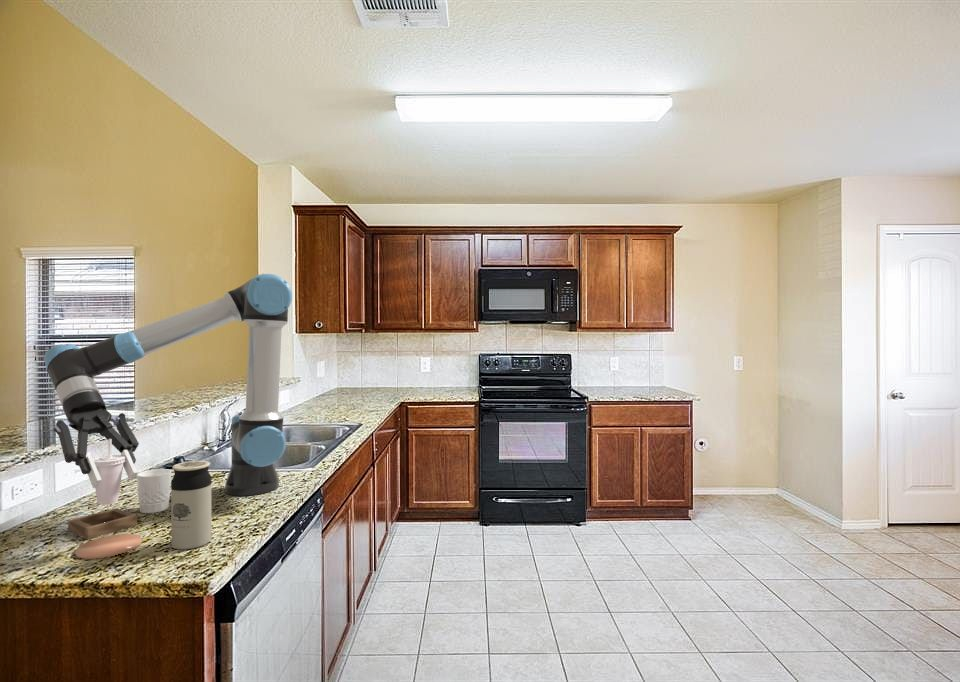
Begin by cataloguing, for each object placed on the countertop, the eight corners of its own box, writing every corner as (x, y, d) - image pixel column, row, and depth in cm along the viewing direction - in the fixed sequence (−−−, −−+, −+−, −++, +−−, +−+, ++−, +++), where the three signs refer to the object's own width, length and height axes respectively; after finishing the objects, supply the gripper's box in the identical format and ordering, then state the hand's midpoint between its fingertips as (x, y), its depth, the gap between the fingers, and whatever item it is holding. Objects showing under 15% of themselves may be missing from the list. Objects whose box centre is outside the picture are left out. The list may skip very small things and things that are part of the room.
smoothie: (106, 507, 111) (106, 442, 111) (82, 505, 113) (82, 441, 112) (132, 498, 118) (132, 436, 117) (108, 496, 119) (108, 435, 119)
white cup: (177, 507, 142) (177, 471, 142) (146, 516, 135) (146, 478, 135) (161, 502, 146) (161, 467, 146) (131, 511, 139) (130, 474, 139)
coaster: (151, 535, 122) (151, 532, 122) (125, 557, 110) (125, 553, 110) (95, 538, 120) (95, 535, 120) (62, 561, 108) (62, 557, 108)
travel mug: (194, 534, 123) (194, 459, 123) (219, 539, 120) (219, 462, 120) (163, 547, 116) (162, 466, 116) (188, 552, 113) (188, 470, 113)
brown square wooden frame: (116, 517, 134) (116, 508, 134) (137, 525, 129) (136, 515, 129) (68, 530, 125) (68, 520, 125) (88, 539, 120) (88, 528, 120)
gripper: (121, 405, 131) (156, 479, 123) (24, 415, 115) (56, 502, 106) (132, 386, 128) (168, 460, 120) (34, 393, 112) (68, 480, 104)
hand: (115, 479), depth 113 cm, fingers closed on smoothie, 6 cm apart
